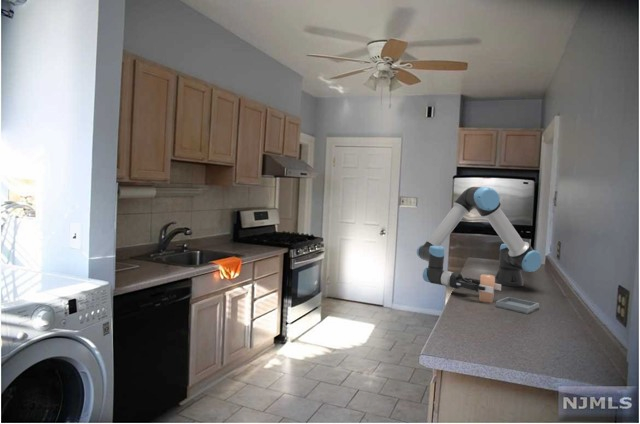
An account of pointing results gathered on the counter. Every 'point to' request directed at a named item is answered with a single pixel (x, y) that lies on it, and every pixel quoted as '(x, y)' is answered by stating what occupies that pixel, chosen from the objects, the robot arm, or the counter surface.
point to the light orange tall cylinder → (487, 281)
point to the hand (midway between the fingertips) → (496, 288)
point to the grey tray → (517, 305)
